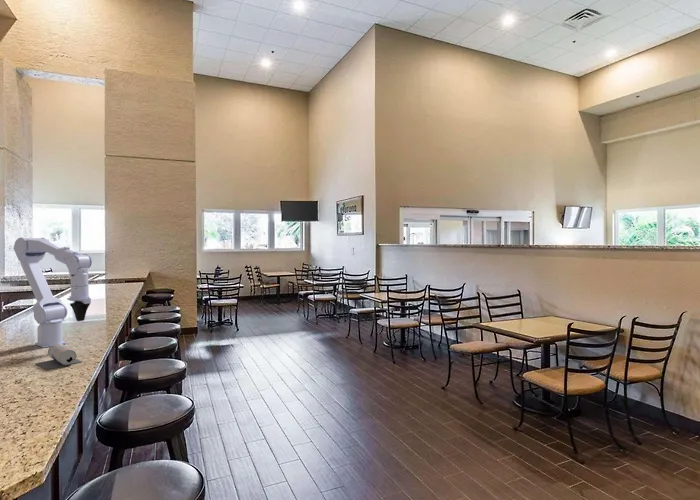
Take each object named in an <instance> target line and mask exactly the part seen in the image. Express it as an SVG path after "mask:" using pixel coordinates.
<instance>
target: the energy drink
mask: <svg viewBox="0 0 700 500" xmlns="http://www.w3.org/2000/svg"><path fill="white" fill-rule="evenodd" d="M47 356H48V357H49V358H50V359H51V360H55V361H57V362H58V363H60V364H62V365H67V366H70V365H69V364H71V363H73V362H74V361H75V359H77V351H76V350H74V349H72V348H71V347H69V346H67V345H65V344H61V343H57V344H54V345H52V346H50V347H48V349H47Z"/></svg>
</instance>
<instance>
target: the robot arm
mask: <svg viewBox="0 0 700 500" xmlns="http://www.w3.org/2000/svg"><path fill="white" fill-rule="evenodd" d="M13 251H14V253H15V255H16V257H17V260H18V261H19V264H20V265H21V268H22V270H23V273H24V276H25V277H26V279H27V282H28V284H29V286H30V288H31V291H32V293H33V294H34V297H35V300H36V302H35V303H34V305H33V306H32V308H31V309H32V312H33V319H34V320H35V322H36V323H37V324H39V325H38V326H37V328H36V330H37V342H34V345H36V346H38V347H41V348H50V347H51V346H52V345H54V344H57V343H61V344H63V345H65V344H67V341H65V340H63V338H64V337H63V322H64V321H65V319H66V318H67V315H68V308H67V306H66V305H65V304H64V303H63V301H62V299H60V298H59V297H58V298H57V297H56V296H54V295H53V293H52V290H51V289H50V286H49V284H48V282H47V279H46V277H45V275H44V273H43V270H42V269H41V266H40V264H39V262H40V261H42V260H43V259H44V257H45V255H46V254H49V255H51V256H54V259H55V261H58V262H60V263H61V264H64V265H65V266H66V268H67V269H68V274H69V275H70V295H69V297H67V299H66V300H67V301H70V303H69V305H70V307H71V308H72V311H73V313H74V316H75V319H76V320H75V321H76V322H83V321H85V319H86V315H87V311H88V308H90V305H91V303H92V299H91V297H90V296H89V294H90V291H89V288H90V287H89V269H90V267H91V266H92V264H93V262H92V258H91V256H89V255H88V254H87V253H85V254H80V253H79V252H78V251H74V250H72V249H71V248H70V247H69V246H62V247H59V246H57V245H55V244H54V243H52V242H51V241H50V240H49V239H47V238H45V237H18V238H16V239H15V241H14V245H13Z"/></svg>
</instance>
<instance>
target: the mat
mask: <svg viewBox="0 0 700 500" xmlns="http://www.w3.org/2000/svg"><path fill="white" fill-rule="evenodd" d="M82 362H83V361H82V360H80V359H78V358H76V359H75V361H74V362H73V363H71V364H72V365H75V364H80V363H82ZM71 364H69V365H62V364H60V363H58V362H57V361H55V360H54V359H49V360H46V361H40V362H37V363H35V365H36V366H39V367H41V368H42V369H45V370H46V371H49V370H52V369H58V368H62V367H68V366H71Z"/></svg>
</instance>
